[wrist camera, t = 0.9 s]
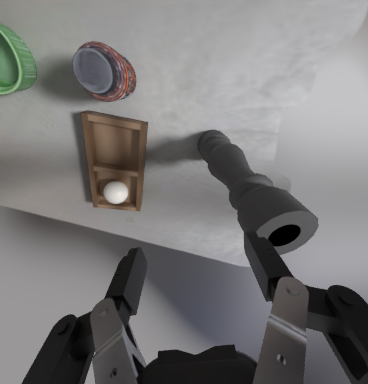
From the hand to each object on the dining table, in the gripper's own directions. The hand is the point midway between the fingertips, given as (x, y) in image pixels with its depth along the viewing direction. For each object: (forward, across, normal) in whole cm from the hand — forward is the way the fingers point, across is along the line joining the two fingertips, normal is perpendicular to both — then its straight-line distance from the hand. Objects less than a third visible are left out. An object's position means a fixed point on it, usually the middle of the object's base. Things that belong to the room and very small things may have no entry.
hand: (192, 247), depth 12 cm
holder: (+25, +15, -1) cm, 29 cm away
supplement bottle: (+23, +8, -16) cm, 30 cm away
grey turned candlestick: (+26, -6, -2) cm, 27 cm away
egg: (+24, +16, +3) cm, 29 cm away
